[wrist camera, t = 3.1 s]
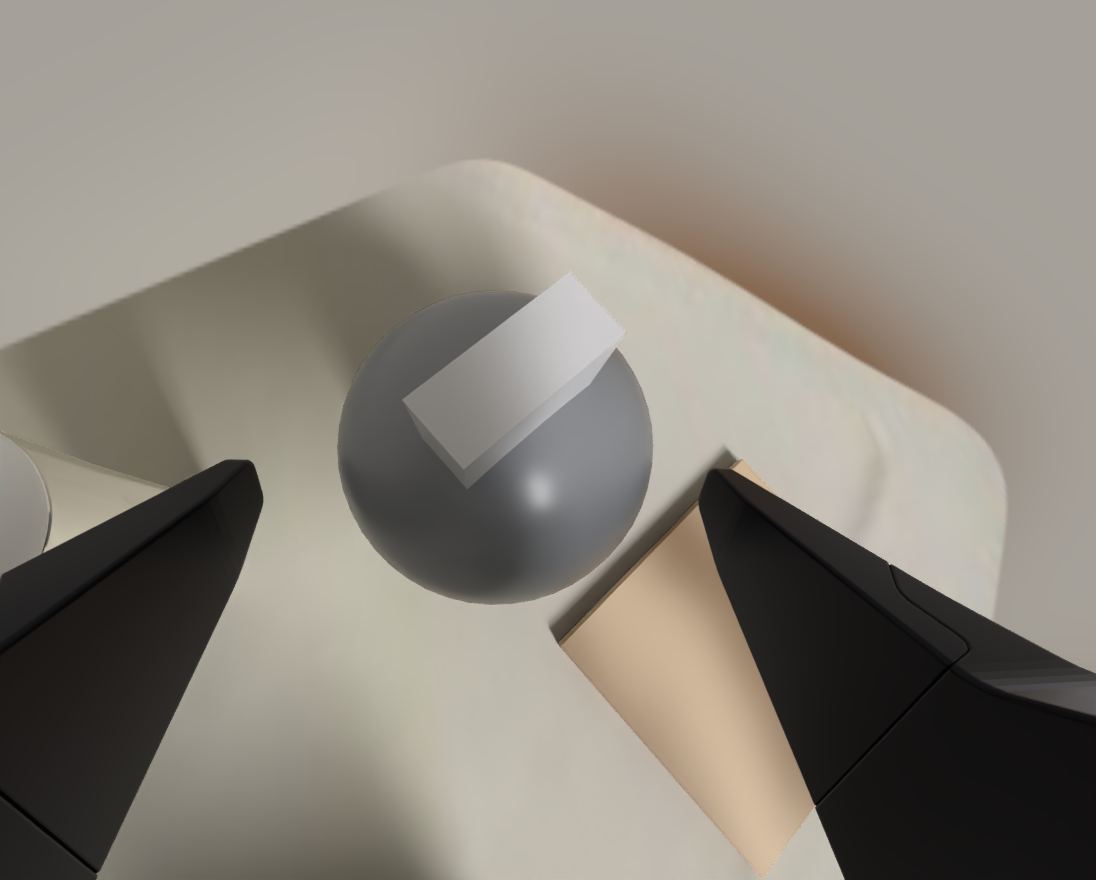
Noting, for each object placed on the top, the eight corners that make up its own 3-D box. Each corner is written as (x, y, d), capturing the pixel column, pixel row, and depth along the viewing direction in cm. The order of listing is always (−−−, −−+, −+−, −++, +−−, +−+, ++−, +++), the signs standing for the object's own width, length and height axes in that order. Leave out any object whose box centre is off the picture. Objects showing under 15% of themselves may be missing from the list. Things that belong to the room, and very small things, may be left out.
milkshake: (66, 495, 16) (-600, 417, 6) (241, 462, 17) (-86, 349, 7) (73, 637, 15) (-684, 812, 5) (257, 593, 16) (-88, 671, 6)
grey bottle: (480, 599, 17) (492, 814, 3) (389, 494, 17) (80, 321, 4) (581, 504, 18) (872, 397, 5) (494, 408, 18) (539, 52, 5)
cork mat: (752, 867, 16) (762, 879, 16) (557, 643, 17) (560, 647, 16) (909, 649, 19) (923, 653, 18) (734, 461, 19) (742, 459, 19)
